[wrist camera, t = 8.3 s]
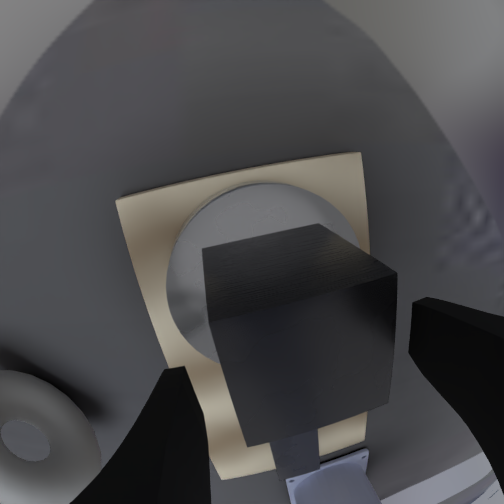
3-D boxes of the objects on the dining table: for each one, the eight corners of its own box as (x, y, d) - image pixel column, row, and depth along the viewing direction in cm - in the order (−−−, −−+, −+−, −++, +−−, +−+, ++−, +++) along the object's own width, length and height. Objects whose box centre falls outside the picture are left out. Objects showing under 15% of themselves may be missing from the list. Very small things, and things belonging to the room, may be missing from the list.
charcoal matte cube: (328, 322, 15) (388, 402, 10) (227, 348, 15) (247, 447, 9) (318, 222, 14) (397, 273, 8) (201, 248, 13) (208, 322, 7)
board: (358, 430, 23) (364, 440, 22) (220, 469, 22) (222, 480, 21) (350, 151, 16) (360, 152, 15) (120, 197, 15) (115, 200, 14)
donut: (-12, 367, 16) (-71, 461, 7) (-7, 335, 16) (-80, 434, 6) (103, 433, 19) (84, 547, 10) (118, 408, 19) (99, 535, 9)
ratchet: (348, 443, 22) (369, 483, 18) (238, 473, 21) (248, 519, 17) (335, 166, 15) (385, 173, 11) (148, 203, 14) (129, 225, 10)
